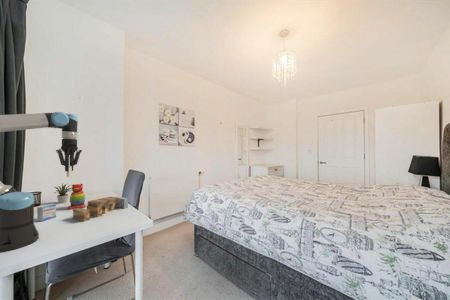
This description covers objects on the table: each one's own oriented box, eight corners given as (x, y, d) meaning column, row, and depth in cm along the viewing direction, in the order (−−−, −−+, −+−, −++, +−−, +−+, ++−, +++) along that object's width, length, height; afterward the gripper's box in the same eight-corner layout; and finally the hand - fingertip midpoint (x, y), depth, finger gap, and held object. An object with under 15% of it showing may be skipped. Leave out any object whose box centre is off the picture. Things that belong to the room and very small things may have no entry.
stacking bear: (66, 210, 137) (66, 185, 137) (71, 206, 146) (70, 183, 146) (84, 208, 141) (84, 184, 141) (87, 204, 150) (87, 182, 150)
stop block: (124, 208, 141) (124, 199, 141) (113, 206, 146) (113, 197, 146) (127, 207, 144) (127, 198, 144) (117, 205, 149) (117, 196, 149)
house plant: (58, 206, 146) (58, 185, 146) (45, 204, 149) (45, 184, 149) (77, 201, 160) (76, 182, 160) (64, 200, 163) (64, 181, 163)
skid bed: (84, 221, 116) (84, 211, 116) (73, 218, 121) (73, 209, 121) (102, 215, 126) (102, 206, 126) (91, 213, 131) (91, 204, 131)
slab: (96, 207, 124) (96, 203, 124) (87, 205, 128) (87, 201, 128) (119, 202, 138) (119, 198, 138) (110, 200, 142) (110, 196, 143)
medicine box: (42, 221, 116) (42, 207, 115) (37, 221, 116) (36, 207, 116) (56, 217, 123) (56, 203, 123) (51, 216, 124) (51, 203, 124)
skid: (105, 213, 130) (105, 205, 130) (98, 213, 130) (98, 205, 130) (115, 208, 142) (115, 200, 142) (109, 208, 142) (109, 200, 142)
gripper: (59, 138, 110) (59, 178, 110) (84, 139, 122) (84, 175, 121) (53, 138, 113) (53, 177, 113) (78, 139, 125) (77, 174, 125)
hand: (69, 176), depth 117 cm, fingers closed
